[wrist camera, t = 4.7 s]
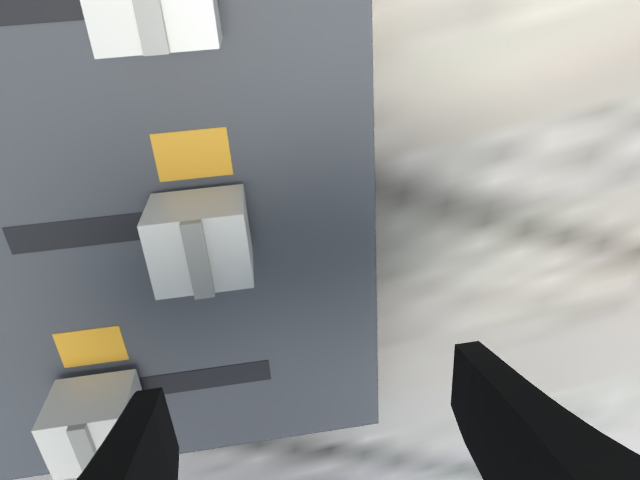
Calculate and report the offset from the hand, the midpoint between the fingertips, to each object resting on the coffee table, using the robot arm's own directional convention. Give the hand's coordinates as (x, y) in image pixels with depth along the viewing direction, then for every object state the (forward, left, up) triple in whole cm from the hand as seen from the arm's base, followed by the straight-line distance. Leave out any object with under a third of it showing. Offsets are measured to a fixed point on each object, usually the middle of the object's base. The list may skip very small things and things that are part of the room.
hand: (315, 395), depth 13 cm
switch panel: (+2, +6, -9) cm, 11 cm away
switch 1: (-5, +8, -7) cm, 12 cm away
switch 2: (+9, +3, -7) cm, 12 cm away
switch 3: (+2, +3, -7) cm, 8 cm away
